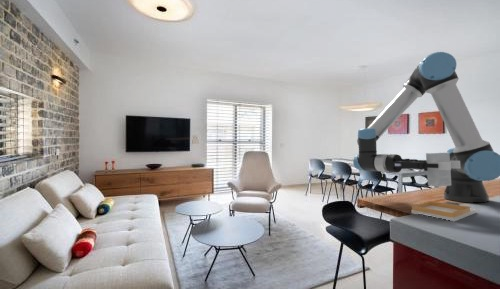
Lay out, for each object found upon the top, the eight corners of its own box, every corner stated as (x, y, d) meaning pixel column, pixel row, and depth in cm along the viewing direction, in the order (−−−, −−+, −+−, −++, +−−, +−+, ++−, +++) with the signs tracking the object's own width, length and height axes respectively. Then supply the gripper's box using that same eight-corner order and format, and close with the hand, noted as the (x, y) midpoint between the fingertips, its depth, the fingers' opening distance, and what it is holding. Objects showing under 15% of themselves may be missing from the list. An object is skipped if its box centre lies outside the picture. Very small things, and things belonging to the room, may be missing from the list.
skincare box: (440, 184, 92) (438, 152, 92) (451, 185, 88) (450, 152, 88) (426, 185, 91) (425, 152, 91) (438, 187, 86) (436, 153, 87)
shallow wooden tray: (434, 206, 101) (434, 199, 101) (476, 212, 89) (475, 205, 89) (411, 213, 92) (411, 205, 92) (454, 221, 80) (453, 213, 80)
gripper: (402, 170, 110) (467, 173, 90) (375, 173, 100) (442, 179, 80) (401, 153, 110) (466, 153, 90) (374, 155, 100) (441, 155, 80)
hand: (455, 165), depth 85 cm, fingers closed on skincare box, 7 cm apart
